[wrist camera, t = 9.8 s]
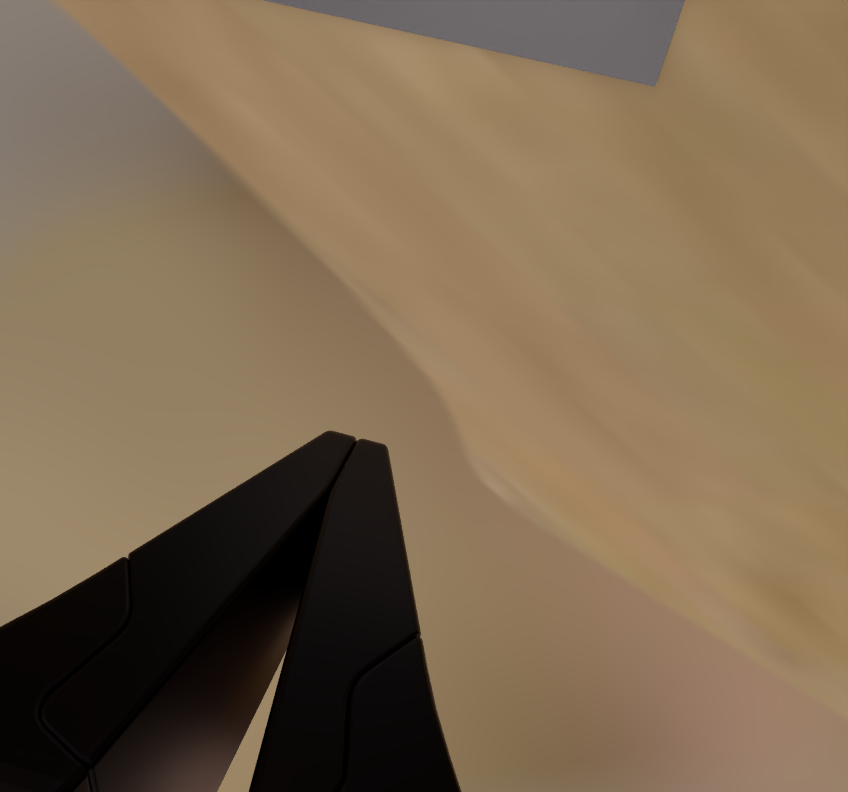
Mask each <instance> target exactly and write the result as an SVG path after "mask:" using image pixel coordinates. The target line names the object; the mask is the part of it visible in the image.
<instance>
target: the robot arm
mask: <svg viewBox="0 0 848 792" xmlns="http://www.w3.org/2000/svg"><path fill="white" fill-rule="evenodd" d="M420 636H421V632H420V626H419V620H418V615H417V609H416V604H415V598H414V593H413V587H412V581H411V575H410V570H409V565H408V559H407V553H406V548H405V542H404V536H403V531H402V525H401V519H400V514H399V508H398V503H397V497H396V491H395V486H394V480H393V475H392V469H391V464H390V458H389V452H388V449H387V447H386V446H385V445H384V444H381V443H377V442H374V441H370V440H366V439H359V440H358V441H356V438H355V437H353V436H350V435H346V434H343V433H339V432H335V431H326V432H324V433H323V434H321V435H320V436H318V437H316V438H315V439H313V440H311V441H310V442H308V443H307V444H305V445H303V446H302V447H300V448H299V449H297V450H295V451H294V452H292V453H290V454H289V455H287V456H286V457H284V458H282V459H281V460H279V461H278V462H276V463H274V464H273V465H271V466H269V467H268V468H266V469H265V470H263V471H262V472H260V473H258V474H257V475H255V476H253V477H252V478H250V479H249V480H247V481H245V482H244V483H242V484H240V485H239V486H237V487H236V488H234V489H232V490H231V491H229V492H227V493H226V494H224V495H223V496H221V497H219V498H218V499H216V500H215V501H213V502H211V503H210V504H208V505H206V506H205V507H203V508H202V509H200V510H198V511H197V512H195V513H194V514H192V515H190V516H189V517H187V518H185V519H184V520H182V521H181V522H179V523H177V524H176V525H174V526H173V527H171V528H169V529H168V530H166V531H165V532H163V533H161V534H160V535H158V536H156V537H155V538H153V539H152V540H150V541H148V542H147V543H145V544H143V545H142V546H140V547H139V548H137V549H135V550H134V551H132V552H131V553H129V555H128V559H127V558H126V557H122V558H120V559H119V560H117V561H116V562H114V563H112V564H111V565H109V566H108V567H106V568H104V569H103V570H101V571H99V572H98V573H96V574H94V575H93V576H91V577H89V578H88V579H86V580H84V581H83V582H81V583H79V584H77V585H76V586H74V587H72V588H71V589H69V590H67V591H65V592H64V593H62V594H60V595H59V596H57V597H55V598H53V599H52V600H50V601H48V602H46V603H45V604H42V605H41V606H39V607H37V608H35V609H33V610H31V611H29V612H28V613H26V614H24V615H22V616H20V617H18V618H16V619H14V620H12V621H10V622H9V623H7V624H5V625H3V626H1V627H0V792H217V791H218V788H219V786H220V785H221V782H222V781H223V779H224V777H225V774H226V772H227V770H228V768H229V766H230V764H231V762H232V760H233V758H234V756H235V754H236V752H237V750H238V748H239V746H240V744H241V742H242V740H243V738H244V736H245V734H246V732H247V729H248V727H249V725H250V723H251V721H252V719H253V717H254V715H255V713H256V711H257V709H258V707H259V705H260V703H261V701H262V699H263V697H264V695H265V693H266V691H267V689H268V687H269V684H270V682H271V680H272V678H273V676H274V674H275V672H276V670H277V668H278V666H279V664H280V662H281V660H282V658H283V656H284V654H285V652H286V655H285V659H284V662H283V666H282V670H281V674H280V677H279V681H278V685H277V688H276V692H275V696H274V699H273V704H272V707H271V711H270V715H269V718H268V722H267V726H266V729H265V733H264V737H263V740H262V744H261V748H260V752H259V755H258V760H257V763H256V767H255V770H254V774H253V778H252V782H251V786H250V789H249V792H461V789H460V786H459V783H458V780H457V777H456V774H455V771H454V768H453V765H452V761H451V758H450V755H449V752H448V748H447V744H446V741H445V738H444V734H443V731H442V727H441V723H440V720H439V717H438V713H437V710H436V705H435V700H434V696H433V691H432V687H431V682H430V677H429V673H428V669H427V663H426V657H425V652H424V646H423V641H422V639H421V638H420ZM286 650H287V651H286Z"/></svg>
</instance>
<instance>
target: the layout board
mask: <svg viewBox="0 0 848 792" xmlns="http://www.w3.org/2000/svg"><path fill="white" fill-rule="evenodd" d="M265 1H269V2H274V3H278V4H283V5H287V6H292V7H296V8H301V9H305V10H310V11H315V12H319V13H324V14H328V15H333V16H337V17H342V18H346V19H351V20H355V21H360V22H364V23H369V24H374V25H378V26H383V27H387V28H392V29H396V30H401V31H405V32H410V33H414V34H419V35H423V36H428V37H433V38H437V39H442V40H446V41H451V42H455V43H460V44H464V45H469V46H473V47H478V48H482V49H487V50H492V51H496V52H501V53H505V54H510V55H514V56H519V57H523V58H528V59H532V60H537V61H541V62H546V63H551V64H555V65H560V66H564V67H569V68H573V69H578V70H582V71H587V72H591V73H596V74H600V75H605V76H610V77H614V78H619V79H623V80H628V81H632V82H637V83H641V84H646V85H650V86H655V85H656V82H657V79H658V76H659V74H660V71H661V68H662V65H663V62H664V59H665V56H666V53H667V50H668V48H669V45H670V42H671V39H672V36H673V33H674V30H675V27H676V24H677V21H678V19H679V16H680V13H681V10H682V7H683V4H684V1H685V0H265Z"/></svg>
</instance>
